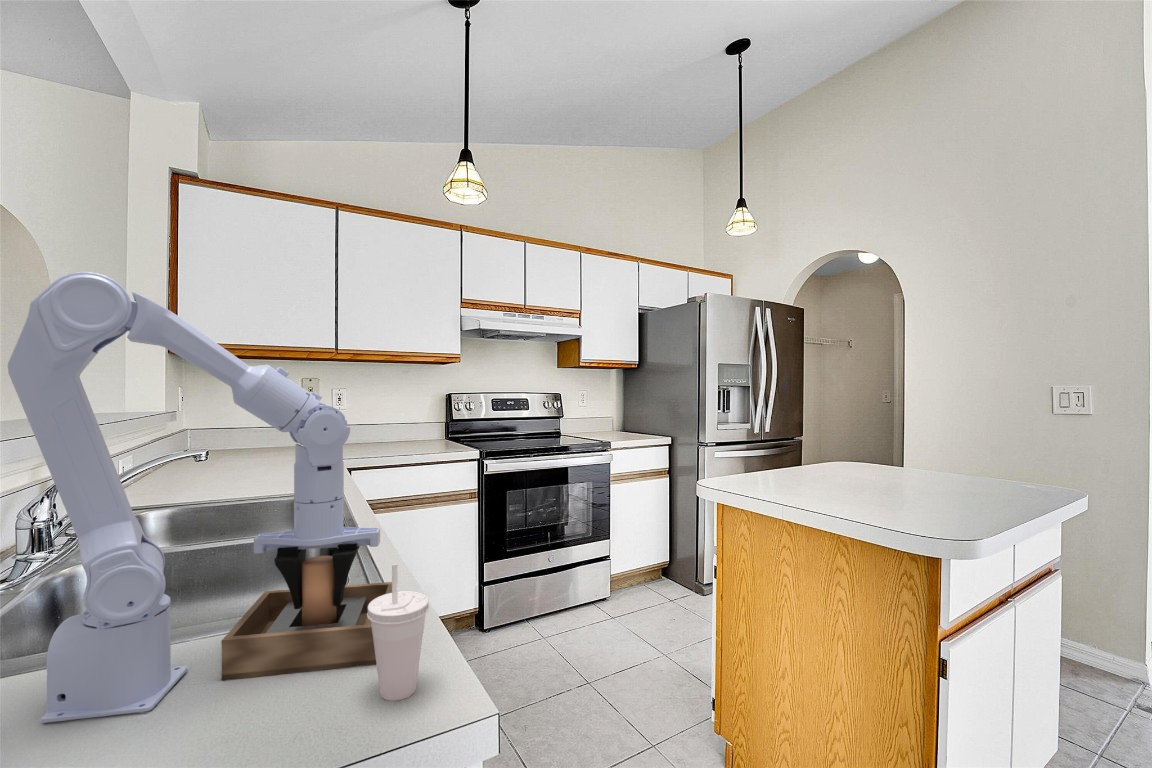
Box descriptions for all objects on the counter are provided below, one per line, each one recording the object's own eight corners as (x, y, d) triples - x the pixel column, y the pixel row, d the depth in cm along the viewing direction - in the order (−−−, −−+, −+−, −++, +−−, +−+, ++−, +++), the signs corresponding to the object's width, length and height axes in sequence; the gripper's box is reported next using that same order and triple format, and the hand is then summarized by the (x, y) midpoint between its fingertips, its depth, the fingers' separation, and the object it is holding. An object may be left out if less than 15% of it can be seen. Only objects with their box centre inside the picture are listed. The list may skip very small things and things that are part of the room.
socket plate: (262, 662, 63) (262, 637, 63) (288, 623, 73) (288, 602, 73) (353, 653, 65) (353, 629, 65) (366, 616, 75) (367, 596, 75)
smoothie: (353, 697, 57) (353, 566, 57) (399, 668, 63) (399, 549, 63) (397, 715, 54) (397, 577, 54) (441, 683, 60) (441, 558, 60)
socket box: (221, 680, 60) (221, 640, 60) (265, 623, 74) (265, 591, 74) (381, 663, 64) (381, 626, 64) (394, 612, 77) (395, 581, 77)
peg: (298, 631, 66) (298, 567, 66) (306, 617, 70) (306, 556, 70) (333, 628, 67) (333, 564, 67) (338, 614, 71) (339, 554, 71)
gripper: (383, 489, 74) (383, 587, 74) (267, 493, 71) (267, 596, 71) (375, 501, 67) (375, 609, 67) (247, 506, 64) (247, 620, 64)
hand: (319, 604), depth 69 cm, fingers closed on peg, 4 cm apart
